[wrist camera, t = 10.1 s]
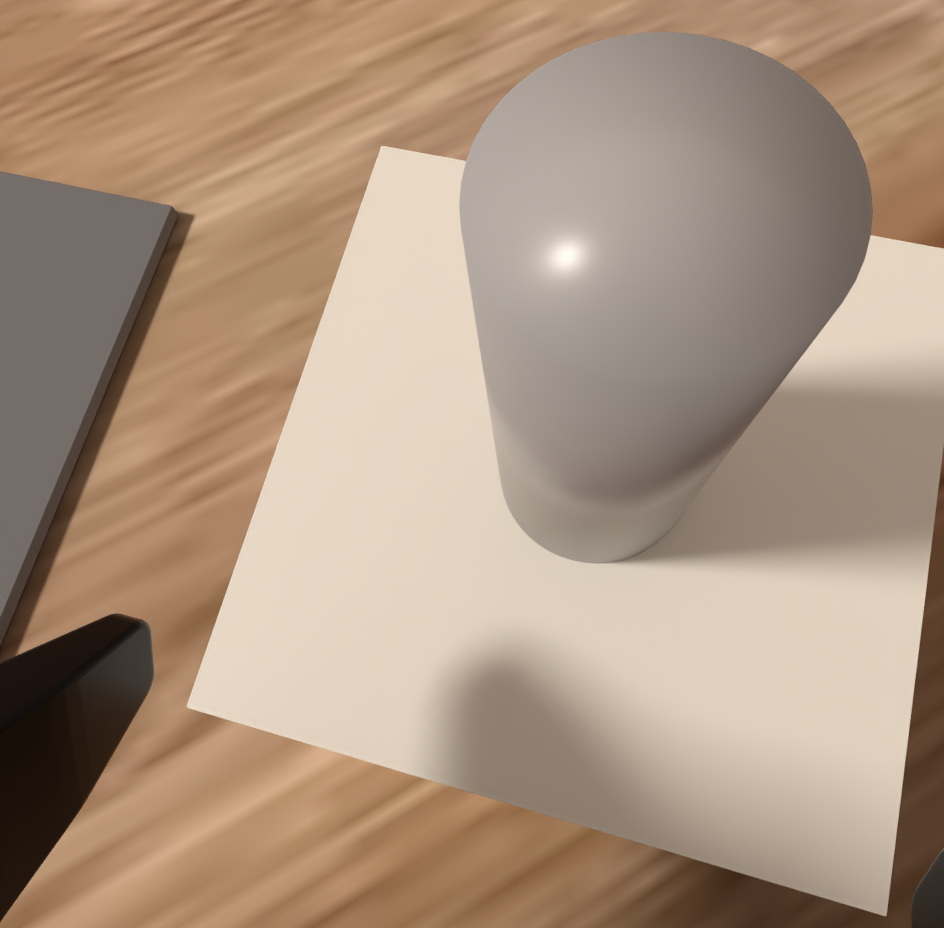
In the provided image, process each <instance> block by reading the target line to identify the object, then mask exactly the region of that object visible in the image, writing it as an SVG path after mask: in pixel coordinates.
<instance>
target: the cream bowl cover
mask: <svg viewBox="0 0 944 928" xmlns="http://www.w3.org/2000/svg"><path fill="white" fill-rule="evenodd" d="M872 213H873V209H872V196H871V186H870V182H869V178H868V174H867V169H866V165H865V162H864V160H863V157H862V155H861V152H860V150H859V147H858V145H857V143H856V141H855V139H854V137H853V136H852V134H851V132H850V130H849V129H848V127H847V125H846V124H845V122H844V121H843V119H842V118H841V117H840V115H839V114H838V113H837V112H836V110H835V109H834V108H833V106H832V105H831V104H830V103H829V102H828V101H827V100H826V99H825V98H824V97H823V96H822V95H821V94H820V93H819V92H818V91H817V90H816V89H815V88H814V87H813V86H812V85H811V84H809V83H808V82H807V81H806V80H804V79H803V78H802V77H800V76H799V75H798V74H796V73H795V72H794V71H792V70H791V69H789V68H787V67H786V66H784V65H782V64H781V63H779V62H777V61H776V60H774V59H772V58H770V57H768V56H766V55H764V54H761V53H759V52H757V51H755V50H752V49H750V48H748V47H745V46H742V45H739V44H735V43H732V42H729V41H726V40H722V39H718V38H713V37H708V36H703V35H697V34H687V33H677V32H648V33H639V34H630V35H622V36H618V37H613V38H609V39H604V40H600V41H597V42H594V43H591V44H588V45H585V46H582V47H579V48H576V49H574V50H572V51H569V52H567V53H565V54H563V55H561V56H559V57H556V58H554V59H553V60H551V61H550V62H548V63H546V64H545V65H543V66H541V67H540V68H538V69H536V70H535V71H533V72H532V73H531V74H530V75H528V76H527V77H526V78H524V79H523V80H522V81H521V82H519V83H518V84H517V85H516V86H515V87H514V88H513V89H512V90H511V91H510V92H509V93H508V94H507V95H506V96H505V97H504V98H503V99H502V100H501V101H500V102H499V103H498V104H497V106H496V107H495V108H494V110H493V111H492V112H491V114H490V115H489V116H488V117H487V119H486V120H485V122H484V124H483V125H482V127H481V129H480V131H479V133H478V134H477V136H476V138H475V140H474V142H473V145H472V147H471V150H470V152H469V155H468V157H467V160H466V161H462V160H457V159H451V158H446V157H441V156H435V155H430V154H424V153H419V152H413V151H408V150H402V149H397V148H391V147H386V146H381V149H380V152H379V155H378V157H377V160H376V163H375V166H374V169H373V172H372V175H371V178H370V180H369V183H368V186H367V189H366V192H365V195H364V198H363V201H362V203H361V206H360V209H359V212H358V215H357V218H356V221H355V224H354V226H353V229H352V232H351V235H350V238H349V241H348V244H347V247H346V250H345V252H344V255H343V258H342V261H341V264H340V267H339V270H338V273H337V275H336V278H335V281H334V284H333V287H332V290H331V293H330V296H329V298H328V301H327V304H326V307H325V310H324V313H323V316H322V319H321V321H320V324H319V327H318V330H317V333H316V336H315V339H314V342H313V344H312V347H311V350H310V353H309V356H308V359H307V362H306V365H305V367H304V370H303V373H302V376H301V379H300V382H299V385H298V388H297V390H296V393H295V396H294V399H293V402H292V405H291V408H290V411H289V413H288V416H287V419H286V422H285V425H284V428H283V431H282V434H281V436H280V439H279V442H278V445H277V448H276V451H275V454H274V457H273V459H272V462H271V465H270V468H269V471H268V474H267V477H266V480H265V482H264V485H263V488H262V491H261V494H260V497H259V500H258V503H257V505H256V508H255V511H254V514H253V517H252V520H251V523H250V526H249V528H248V531H247V534H246V537H245V540H244V543H243V546H242V549H241V551H240V554H239V557H238V560H237V563H236V566H235V569H234V572H233V574H232V577H231V580H230V583H229V586H228V589H227V592H226V595H225V597H224V600H223V603H222V606H221V609H220V612H219V615H218V618H217V621H216V623H215V626H214V629H213V632H212V635H211V638H210V641H209V644H208V646H207V649H206V652H205V655H204V658H203V661H202V664H201V667H200V669H199V672H198V675H197V678H196V681H195V684H194V687H193V690H192V692H191V695H190V698H189V701H188V704H187V708H190V709H193V710H197V711H200V712H203V713H207V714H210V715H213V716H217V717H220V718H223V719H227V720H230V721H234V722H237V723H240V724H244V725H247V726H250V727H254V728H257V729H260V730H264V731H267V732H270V733H274V734H277V735H280V736H284V737H287V738H290V739H294V740H297V741H300V742H304V743H307V744H310V745H314V746H317V747H320V748H324V749H327V750H331V751H334V752H337V753H341V754H344V755H347V756H351V757H354V758H357V759H361V760H364V761H367V762H371V763H374V764H377V765H381V766H384V767H387V768H391V769H394V770H397V771H401V772H404V773H407V774H411V775H414V776H418V777H421V778H424V779H428V780H431V781H434V782H438V783H441V784H444V785H448V786H451V787H454V788H458V789H461V790H464V791H468V792H471V793H474V794H478V795H481V796H484V797H488V798H491V799H494V800H498V801H501V802H504V803H508V804H511V805H515V806H518V807H521V808H525V809H528V810H531V811H535V812H538V813H541V814H545V815H548V816H551V817H555V818H558V819H561V820H565V821H568V822H571V823H575V824H578V825H581V826H585V827H588V828H591V829H595V830H598V831H601V832H605V833H608V834H612V835H615V836H618V837H622V838H625V839H628V840H632V841H635V842H638V843H642V844H645V845H648V846H652V847H655V848H658V849H662V850H665V851H668V852H672V853H675V854H678V855H682V856H685V857H688V858H692V859H695V860H698V861H702V862H705V863H709V864H712V865H715V866H719V867H722V868H725V869H729V870H732V871H735V872H739V873H742V874H745V875H749V876H752V877H755V878H759V879H762V880H765V881H769V882H772V883H775V884H779V885H782V886H785V887H789V888H792V889H796V890H799V891H802V892H806V893H809V894H812V895H816V896H819V897H822V898H826V899H829V900H832V901H836V902H839V903H842V904H846V905H849V906H852V907H856V908H859V909H862V910H866V911H869V912H872V913H876V914H879V915H882V916H887V908H888V900H889V891H890V883H891V875H892V867H893V859H894V850H895V842H896V834H897V826H898V817H899V809H900V801H901V793H902V784H903V776H904V768H905V760H906V751H907V743H908V735H909V727H910V719H911V710H912V702H913V694H914V686H915V677H916V669H917V661H918V653H919V644H920V636H921V628H922V620H923V611H924V603H925V595H926V587H927V578H928V570H929V562H930V554H931V546H932V537H933V529H934V521H935V513H936V504H937V496H938V488H939V480H940V471H941V463H942V455H943V447H944V249H942V248H937V247H931V246H926V245H920V244H915V243H909V242H904V241H898V240H893V239H888V238H882V237H877V236H871V226H872Z"/></svg>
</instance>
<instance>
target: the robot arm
mask: <svg viewBox="0 0 944 928" xmlns="http://www.w3.org/2000/svg"><path fill="white" fill-rule="evenodd" d="M153 677H154V664H153V651H152V639H151V630H150V627H149V625H148V623H147V622H145V621H144V620H141V619H137V618H134V617H130V616H126V615H123V614H111V615H108V616H106V617H103V618H101V619H99V620H97V621H94V622H92V623H90V624H87V625H85V626H83V627H81V628H78V629H76V630H74V631H72V632H69V633H67V634H65V635H62V636H60V637H58V638H56V639H53V640H51V641H49V642H47V643H44V644H42V645H40V646H38V647H35V648H33V649H31V650H28V651H26V652H24V653H22V654H19V655H17V656H15V657H13V658H10V659H8V660H6V661H3V662H1V663H0V922H1V920H2V919H3V917H4V916H5V915H6V913H7V912H8V910H9V909H10V908H11V906H12V905H13V903H14V902H15V901H16V899H17V898H18V897H19V895H20V894H21V892H22V891H23V890H24V888H25V887H26V885H27V884H28V883H29V881H30V880H31V878H32V877H33V876H34V874H35V873H36V871H37V870H38V869H39V867H40V866H41V864H42V863H43V862H44V860H45V859H46V857H47V856H48V855H49V853H50V852H51V850H52V849H53V848H54V846H55V845H56V843H57V842H58V841H59V839H60V838H61V836H62V835H63V834H64V832H65V831H66V829H67V828H68V827H69V825H70V824H71V822H72V821H73V819H74V818H75V816H76V815H77V814H78V812H79V811H80V809H81V808H82V806H83V805H84V803H85V801H86V800H87V798H88V796H89V795H90V793H91V791H92V790H93V788H94V786H95V785H96V783H97V781H98V779H99V778H100V776H101V774H102V773H103V771H104V769H105V767H106V766H107V764H108V762H109V760H110V759H111V757H112V755H113V753H114V752H115V750H116V748H117V746H118V745H119V743H120V741H121V739H122V738H123V736H124V734H125V732H126V731H127V729H128V727H129V725H130V724H131V722H132V720H133V718H134V717H135V715H136V713H137V711H138V710H139V708H140V706H141V704H142V703H143V701H144V699H145V697H146V696H147V694H148V692H149V690H150V687H151V685H152V681H153ZM911 920H912V928H944V848H943V849H942V850H941V851H940V853H939V854H938V856H937V857H936V859H935V860H934V862H933V863H932V865H931V866H930V868H929V869H928V871H927V873H926V874H925V876H924V877H923V879H922V880H921V882H920V883H919V885H918V886H917V888H916V890H915V892H914V895H913V898H912V904H911Z"/></svg>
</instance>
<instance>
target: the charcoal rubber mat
mask: <svg viewBox="0 0 944 928" xmlns="http://www.w3.org/2000/svg"><path fill="white" fill-rule="evenodd" d="M177 217H178V214H177V213H176V211H175V210H174V208H173V207H172V206H169V205H164V204H159V203H154V202H149V201H144V200H139V199H135V198H130V197H125V196H120V195H115V194H110V193H105V192H100V191H95V190H90V189H85V188H80V187H75V186H70V185H65V184H60V183H55V182H50V181H45V180H40V179H36V178H31V177H26V176H21V175H16V174H11V173H6V172H1V171H0V646H1V643H2V641H3V638H4V636H5V634H6V631H7V629H8V626H9V624H10V621H11V619H12V617H13V614H14V612H15V609H16V607H17V604H18V602H19V600H20V597H21V595H22V592H23V590H24V588H25V585H26V583H27V580H28V578H29V575H30V573H31V571H32V568H33V566H34V563H35V561H36V558H37V556H38V554H39V551H40V549H41V546H42V544H43V542H44V539H45V537H46V534H47V532H48V529H49V527H50V525H51V522H52V520H53V517H54V515H55V512H56V510H57V508H58V505H59V503H60V500H61V498H62V496H63V493H64V491H65V488H66V486H67V483H68V481H69V479H70V476H71V474H72V471H73V469H74V467H75V464H76V462H77V459H78V457H79V454H80V452H81V450H82V447H83V445H84V442H85V440H86V437H87V435H88V433H89V430H90V428H91V425H92V423H93V421H94V418H95V416H96V413H97V411H98V408H99V406H100V404H101V401H102V399H103V396H104V394H105V391H106V389H107V387H108V384H109V382H110V379H111V377H112V375H113V372H114V370H115V367H116V365H117V362H118V360H119V358H120V355H121V353H122V350H123V348H124V345H125V343H126V341H127V338H128V336H129V333H130V331H131V329H132V326H133V324H134V321H135V319H136V316H137V314H138V312H139V309H140V307H141V304H142V302H143V299H144V297H145V295H146V292H147V290H148V287H149V285H150V283H151V280H152V278H153V275H154V273H155V270H156V268H157V266H158V263H159V261H160V258H161V256H162V253H163V251H164V249H165V246H166V244H167V241H168V239H169V237H170V234H171V232H172V229H173V227H174V224H175V222H176V220H177Z"/></svg>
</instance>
